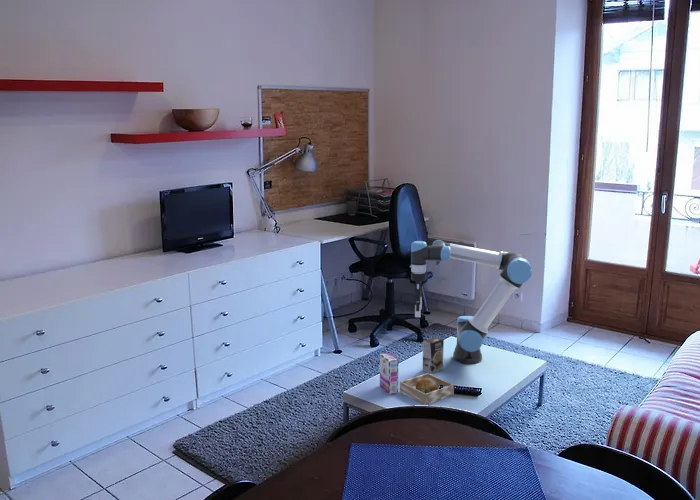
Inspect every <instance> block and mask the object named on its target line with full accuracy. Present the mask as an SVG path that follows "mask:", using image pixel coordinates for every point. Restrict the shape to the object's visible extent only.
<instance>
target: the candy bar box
mask: <svg viewBox="0 0 700 500" xmlns="http://www.w3.org/2000/svg"><path fill="white" fill-rule="evenodd" d="M379 387H381V389H382V390H383V391H384V392H386V393H387V394H388V396H389V395H396V394H399V359H398V358H396V357H395V356H393V355H392V354H391V353H389V352H385V353H383V352H382V353H380V354H379Z"/></svg>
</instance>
